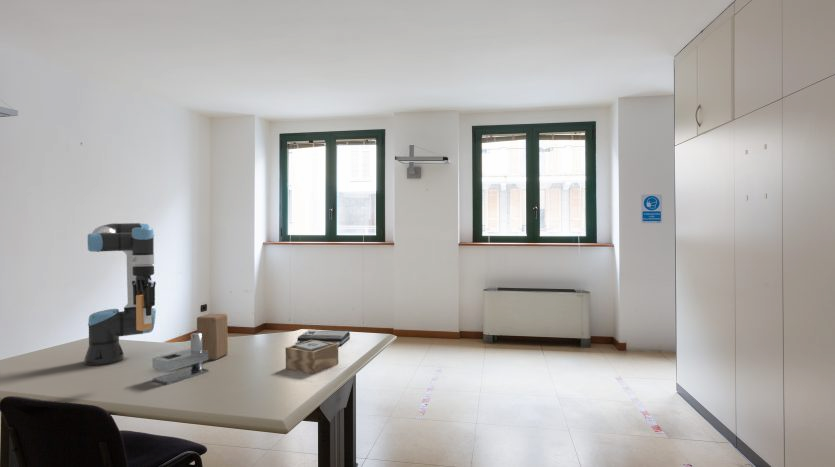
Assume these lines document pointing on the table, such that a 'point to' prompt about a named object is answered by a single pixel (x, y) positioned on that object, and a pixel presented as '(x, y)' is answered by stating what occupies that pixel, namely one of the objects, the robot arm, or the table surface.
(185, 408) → the table surface
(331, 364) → the box
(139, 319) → the orange square bar
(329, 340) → the radio
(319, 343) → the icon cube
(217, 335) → the wooden block
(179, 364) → the grey slotted stand
